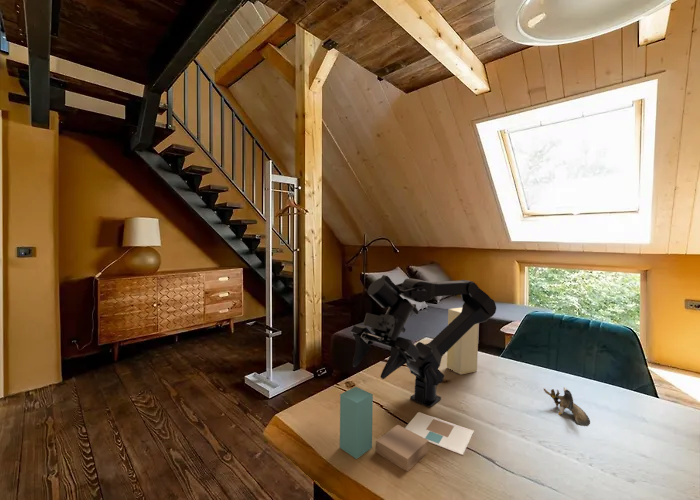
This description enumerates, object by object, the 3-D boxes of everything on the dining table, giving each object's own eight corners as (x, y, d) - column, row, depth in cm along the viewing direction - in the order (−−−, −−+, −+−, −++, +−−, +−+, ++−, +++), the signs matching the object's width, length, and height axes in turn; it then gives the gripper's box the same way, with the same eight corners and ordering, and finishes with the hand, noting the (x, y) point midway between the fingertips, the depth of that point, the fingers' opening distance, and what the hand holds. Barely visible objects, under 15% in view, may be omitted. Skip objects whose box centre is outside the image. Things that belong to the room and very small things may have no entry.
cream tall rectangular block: (461, 363, 116) (463, 306, 115) (477, 371, 110) (479, 310, 109) (444, 367, 113) (446, 308, 112) (460, 375, 106) (462, 313, 105)
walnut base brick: (397, 437, 74) (397, 424, 74) (428, 453, 69) (428, 440, 69) (375, 454, 69) (375, 440, 68) (407, 473, 63) (407, 458, 63)
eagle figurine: (537, 403, 87) (567, 416, 78) (547, 377, 89) (578, 387, 79) (560, 417, 88) (592, 432, 78) (570, 392, 89) (603, 403, 80)
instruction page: (418, 412, 84) (418, 411, 84) (474, 431, 76) (474, 430, 76) (402, 431, 76) (402, 431, 76) (462, 455, 68) (462, 454, 68)
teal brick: (355, 437, 73) (355, 386, 73) (372, 447, 70) (372, 394, 69) (339, 447, 70) (340, 394, 69) (356, 459, 66) (357, 402, 66)
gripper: (355, 295, 87) (324, 345, 80) (412, 306, 73) (381, 367, 66) (374, 318, 93) (347, 366, 86) (430, 332, 79) (403, 391, 72)
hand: (367, 372), depth 77 cm, fingers open, 9 cm apart
